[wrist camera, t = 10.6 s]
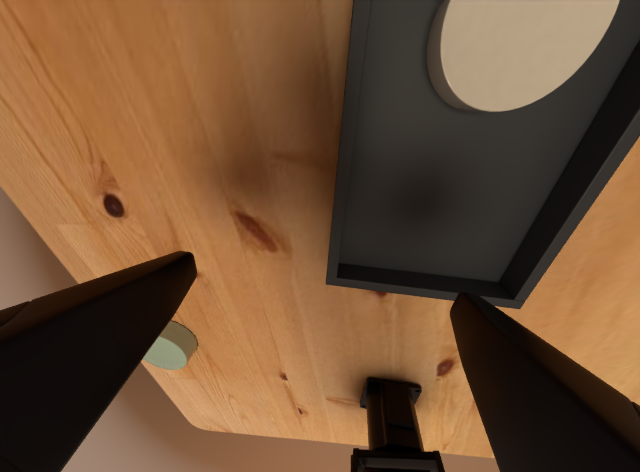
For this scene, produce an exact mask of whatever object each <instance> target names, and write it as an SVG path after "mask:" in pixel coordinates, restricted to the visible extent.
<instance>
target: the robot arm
mask: <svg viewBox="0 0 640 472" xmlns="http://www.w3.org/2000/svg"><path fill="white" fill-rule="evenodd" d="M196 276H197V268H196V264H195V259H194V255H193V254H192V253H191V252H185V251H177V252H174V253H171V254H168V255H165V256H162V257H159V258H156V259H153V260H150V261H147V262H144V263H141V264H138V265H135V266H132V267H129V268H126V269H123V270H120V271H117V272H114V273H111V274H108V275H105V276H102V277H99V278H96V279H93V280H90V281H87V282H84V283H81V284H78V285H75V286H73V287H69V288H67V289H63V290H60V291H57V292H54V293H51V294H48V295H46V296H42V297H40V298H36V299H34V300H32V301H31V302H30V301H28V302H24V303H21V304H18V305H16V306H12V307H9V308H6V309H3V310H0V472H61V471H62V469H63V468H64V467H65V465H66V464H67V462H68V461H69V460H70V458H71V457H72V455H73V454H74V452H75V451H76V450H77V449H78V447H79V446H80V445H81V443H82V442H83V440H84V439H85V438H86V436H87V435H88V433H89V432H90V431H91V429H92V428H93V427H94V425H95V424H96V422H97V421H98V420H99V418H100V417H101V415H102V414H103V413H104V411H105V410H106V409H107V407H108V406H109V404H110V403H111V402H112V400H113V399H114V397H115V396H116V395H117V393H118V392H119V391H120V389H121V388H122V386H123V385H124V384H125V382H126V381H127V380H128V378H129V377H130V375H131V374H132V373H133V371H134V370H135V369H136V367H137V366H138V364H139V363H140V362H141V360H142V359H143V358H144V356H145V355H146V354H147V352H148V351H149V349H150V348H151V347H152V345H153V344H154V342H155V341H156V340H157V338H158V337H159V336H160V334H161V333H162V331H163V330H164V329H165V327H166V326H167V325H168V323H169V322H170V320H171V319H172V317H173V316H174V314H175V313H176V311H177V310H178V308H179V306H180V304H181V303H182V301H183V299H184V298H185V296H186V294H187V292H188V291H189V289H190V287H191V286H192V284H193V282H194V280H195V279H196ZM450 318H451V322H452V326H453V331H454V335H455V339H456V343H457V347H458V351H459V355H460V359H461V362H462V366H463V369H464V372H465V374H466V377H467V380H468V383H469V386H470V388H471V391H472V394H473V397H474V400H475V402H476V405H477V408H478V411H479V414H480V417H481V419H482V422H483V425H484V428H485V431H486V433H487V436H488V439H489V442H490V445H491V447H492V450H493V453H494V456H495V459H496V461H497V464H498V467H499V470H500V472H640V406H639V405H638V404H636V403H635V402H631V401H630V400H629V399H628V398H627V397H626V396H624V395H623V394H622V393H620V392H619V391H617V390H616V389H614V388H613V387H611V386H610V385H608V384H607V383H605V382H604V381H603V380H601V379H600V378H598V377H597V376H595V375H594V374H592V373H591V372H589V371H588V370H587V369H585V368H584V367H582V366H581V365H579V364H578V363H576V362H575V361H573V360H572V359H571V358H569V357H568V356H566V355H565V354H563V353H562V352H560V351H559V350H557V349H556V348H555V347H553V346H552V345H550V344H549V343H547V342H546V341H544V340H543V339H541V338H540V337H538V336H537V335H536V334H534V333H533V332H531V331H530V330H528V329H527V328H525V327H524V326H522V325H521V324H520V323H518V322H517V321H515V320H514V319H512V318H511V317H509V316H508V315H506V314H505V313H504V312H502V311H501V310H499V309H498V308H496V307H495V306H493V305H492V304H490V303H489V302H488V301H486V300H485V299H483V298H482V297H480V296H479V295H477V294H476V293H472V292H465V291H462V292H460V293H459V294H458V295H457V297H456V299H455V301H454V303H453V305H452V307H451V310H450ZM421 392H422V389H421V386H419V385H415V384H409V383H402V382H396V381H389V380H383V379H376V378H367V379H366V383H365V386H364V390H363V393H362V397H361V400H360V407H361V408H365V409H367V424H368V442H369V450H361V449H358V448H354V449H353V455H351V472H445V470H444V467H443V463H442V460H441V456H440V453H439V451H433V452H424V448H423V443H422V438H421V434H420V429H419V425H418V420H417V415H416V411H415V406H414V405H415V403H416V401H417V399H418V397H419V395H420V394H421Z"/></svg>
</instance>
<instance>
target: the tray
mask: <svg viewBox="0 0 640 472" xmlns="http://www.w3.org/2000/svg"><path fill="white" fill-rule="evenodd" d="M441 1H442V0H354V1H353V11H352V21H351V32H350V42H349V52H348V62H347V72H346V82H345V93H344V103H343V113H342V123H341V133H340V144H339V154H338V164H337V174H336V184H335V194H334V205H333V215H332V225H331V235H330V245H329V255H328V266H327V276H326V284H327V285H334V286H342V287H350V288H358V289H366V290H373V291H381V292H389V293H397V294H405V295H413V296H420V297H428V298H436V299H444V300H452V301H455V299H456V297H457V295H458V294H459V293H460V292H462V291H465V292H472V293H476V294H477V295H479V296H480V297H482V298H483V299H485V300H486V301H488V302H489V303H490V304H492V305H493V306H499V307H507V308H514V309H520V308H521V307H522V305H523V304H524V303H525V301H526V299H527V298H528V296H529V295H530V294H531V292H532V291H533V289H534V288H535V286H536V285H537V283H538V282H539V281H540V279H541V278H542V276H543V275H544V273H545V272H546V271H547V269H548V268H549V266H550V265H551V263H552V262H553V260H554V259H555V258H556V256H557V255H558V253H559V252H560V250H561V249H562V247H563V246H564V245H565V243H566V242H567V240H568V239H569V237H570V236H571V234H572V233H573V232H574V230H575V229H576V227H577V226H578V224H579V223H580V221H581V220H582V219H583V217H584V216H585V214H586V213H587V211H588V210H589V209H590V207H591V206H592V204H593V203H594V201H595V200H596V198H597V197H598V196H599V194H600V193H601V191H602V190H603V188H604V187H605V185H606V184H607V183H608V181H609V180H610V178H611V177H612V175H613V174H614V172H615V171H616V170H617V168H618V167H619V165H620V164H621V162H622V161H623V159H624V158H625V157H626V155H627V154H628V152H629V151H630V149H631V148H632V146H633V145H634V144H635V142H636V141H637V139H638V138H639V136H640V0H620V1H619V4H618V7H617V10H616V12H615V15H614V17H613V19H612V21H611V23H610V25H609V27H608V29H607V31H606V32H605V34H604V36H603V38H602V39H601V41H600V42H599V44H598V45H597V47H596V48H595V50H594V51H593V52H592V54H591V55H590V56H589V57H588V59H587V60H586V61H585V62H584V63H583V65H582V66H581V67H580V68H579V69H578V70H577V71H576V72H575V73H574V74H573V75H572V76H571V77H570V78H568V79H567V80H566V81H565V82H564V83H563V84H562V85H560V86H559V87H558V88H556V89H555V90H553V91H552V92H551V93H549V94H547V95H546V96H544V97H543V98H541V99H539V100H537V101H535V102H533V103H531V104H529V105H526V106H523V107H521V108H517V109H513V110H509V111H502V112H470V111H463V110H460V109H457V108H455V107H453V106H451V105H449V104H448V103H446V102H445V101H444V100H443V99H442V98H441V97H440V96H439V95H438V93H437V92H436V91H435V89H434V87H433V85H432V83H431V80H430V77H429V74H428V68H427V43H428V37H429V32H430V29H431V25H432V22H433V19H434V17H435V14H436V12H437V9H438V7H439V5H440V3H441Z"/></svg>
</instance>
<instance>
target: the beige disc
mask: <svg viewBox="0 0 640 472" xmlns="http://www.w3.org/2000/svg"><path fill="white" fill-rule="evenodd" d="M619 1H620V0H442V1H441V3H440V5H439V7H438V9H437V12H436V14H435V17H434V19H433V22H432V25H431V29H430V32H429V37H428V43H427V68H428V74H429V77H430V80H431V83H432V85H433V87H434V89H435V91H436V92H437V93H438V95H439V96H440V97H441V98H442V99H443V100H444V101H445V102H446V103H448V104H449V105H451V106H453V107H455V108H457V109H460V110H463V111H470V112H502V111H509V110H513V109H517V108H521V107H523V106H526V105H529V104H531V103H533V102H535V101H537V100H539V99H541V98H543V97H544V96H546V95H547V94H549V93H551V92H552V91H553V90H555V89H556V88H558V87H559V86H560V85H562V84H563V83H564V82H565V81H566V80H567V79H568V78H570V77H571V76H572V75H573V74H574V73H575V72H576V71H577V70H578V69H579V68H580V67H581V66H582V65H583V63H584V62H585V61H586V60H587V59H588V57H589V56H590V55H591V54H592V52H593V51H594V50H595V48H596V47H597V45H598V44H599V42H600V41H601V39H602V38H603V36H604V34H605V32H606V31H607V29H608V27H609V25H610V23H611V21H612V19H613V17H614V15H615V12H616V10H617V7H618V4H619Z"/></svg>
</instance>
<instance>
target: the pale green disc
mask: <svg viewBox="0 0 640 472" xmlns="http://www.w3.org/2000/svg"><path fill="white" fill-rule="evenodd" d="M196 348H197V340H196V338H195V336H194V335H193V334H192V333H191V332H190V331H189V330H188V329H187V328H185V327H184V326H182V325H180V324H178V323H176V322H173V321H170V322H169V323H168V325H167V326H166V327H165V329H164V330H163V331H162V333H161V334H160V336H159V337H158V338H157V340H156V341H155V342H154V344H153V345H152V347H151V348H150V349H149V351H148V352H147V354H146V355H145V356H144V358H143V359H144V360H145V361H147V362H148V363H150V364H152V365H155V366H157V367H160V368H163V369H169V370H177V369H181V368H183V367H184V366H185V365H186V364H187V362H188V361H189V359H190V358H191V356H192V355H193V353H194V352H195V350H196Z"/></svg>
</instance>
